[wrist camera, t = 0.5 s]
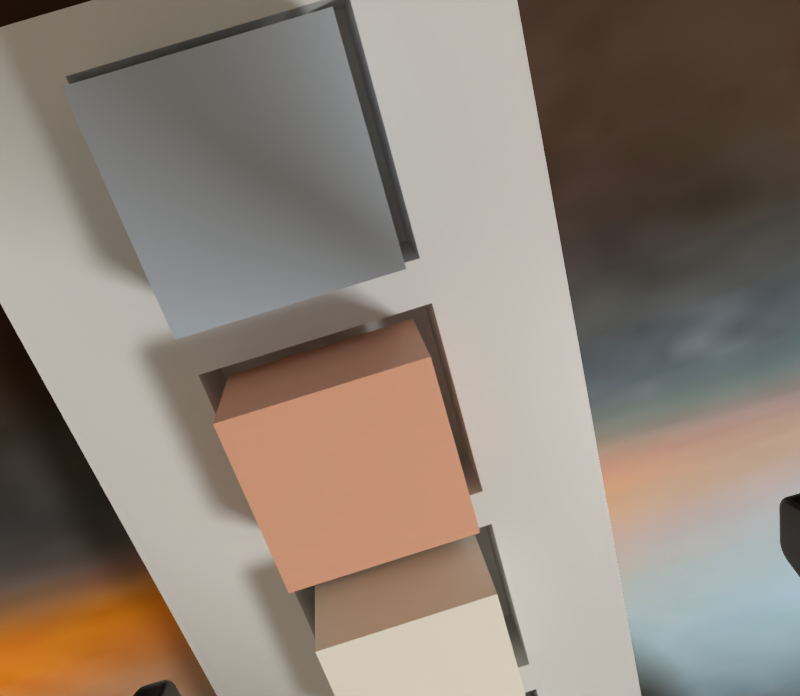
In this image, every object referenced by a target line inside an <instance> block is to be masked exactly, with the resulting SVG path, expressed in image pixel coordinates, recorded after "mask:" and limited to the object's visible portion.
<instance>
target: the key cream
mask: <svg viewBox="0 0 800 696" xmlns="http://www.w3.org/2000/svg"><path fill="white" fill-rule="evenodd" d="M315 653H316V655H317V657H318V659H319V662H320V664H321V666H322V668H323V671H324V673H325V675H326V677H327V679H328V682H329V684H330V686H331V688H332V691H333V693H334V695H335V696H526V694H525V691H524V687H523V684H522V680H521V676H520V673H519V669H518V666H517V662H516V659H515V655H514V651H513V648H512V644H511V641H510V637H509V634H508V630H507V626H506V623H505V619H504V616H503V612H502V609H501V605H500V602H499V598H498V594H497V592H496V589H495V586H494V584H493V581H492V579H491V576H490V573H489V571H488V568H487V565H486V563H485V560H484V558H483V555H482V552H481V550H480V547H479V544H478V542H477V539H476V537H475V535H472V536H469V537H466V538H462V539H459V540H456V541H453V542H450V543H447V544H443V545H440V546H437V547H434V548H431V549H428V550H425V551H421V552H418V553H415V554H412V555H409V556H406V557H402V558H399V559H396V560H393V561H390V562H387V563H383V564H380V565H377V566H374V567H371V568H368V569H364V570H361V571H358V572H355V573H352V574H349V575H345V576H342V577H339V578H336V579H333V580H330V581H326V582H323V583H320V584H317V585H315Z"/></svg>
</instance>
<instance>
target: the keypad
mask: <svg viewBox="0 0 800 696" xmlns="http://www.w3.org/2000/svg"><path fill="white" fill-rule="evenodd" d="M329 7H333V10H334V13H335V17H336V20H337V24H338V27H339V31H340V35H341V38H342V42H343V45H344V49H345V52H346V56H347V60H348V63H349V67H350V70H351V74H352V77H353V81H354V85H355V88H356V92H357V95H358V99H359V102H360V106H361V109H362V113H363V117H364V120H365V124H366V127H367V131H368V134H369V138H370V142H371V145H372V149H373V152H374V156H375V159H376V163H377V167H378V170H379V174H380V177H381V181H382V184H383V188H384V191H385V195H386V199H387V202H388V206H389V209H390V213H391V216H392V220H393V224H394V227H395V231H396V234H397V238H398V241H399V245H400V249H401V252H402V256H403V259H404V263H405V266H406V269H405V270H401V271H398V272H395V273H392V274H388V275H385V276H382V277H378V278H375V279H372V280H369V281H365V282H362V283H359V284H356V285H352V286H349V287H346V288H343V289H339V290H336V291H333V292H329V293H326V294H323V295H320V296H316V297H313V298H310V299H307V300H303V301H300V302H297V303H294V304H290V305H287V306H284V307H280V308H277V309H274V310H271V311H267V312H264V313H261V314H258V315H254V316H251V317H248V318H245V319H241V320H238V321H235V322H231V323H228V324H225V325H222V326H218V327H215V328H212V329H209V330H205V331H202V332H199V333H196V334H192V335H189V336H186V337H182V338H179V339H176V340H175V339H174V336H173V334H172V332H171V330H170V327H169V325H168V323H167V321H166V319H165V316H164V314H163V312H162V310H161V307H160V305H159V303H158V301H157V299H156V296H155V294H154V292H153V290H152V287H151V285H150V283H149V281H148V278H147V276H146V274H145V272H144V270H143V267H142V265H141V263H140V261H139V258H138V256H137V254H136V252H135V250H134V247H133V245H132V243H131V241H130V238H129V236H128V234H127V232H126V229H125V227H124V225H123V223H122V221H121V218H120V216H119V214H118V212H117V209H116V207H115V205H114V203H113V201H112V198H111V196H110V194H109V192H108V189H107V187H106V185H105V183H104V180H103V178H102V176H101V174H100V172H99V169H98V167H97V165H96V163H95V160H94V158H93V156H92V154H91V152H90V149H89V147H88V145H87V143H86V140H85V138H84V136H83V134H82V131H81V129H80V127H79V125H78V123H77V120H76V118H75V116H74V114H73V111H72V109H71V107H70V105H69V103H68V100H67V98H66V96H65V94H64V91H63V89H62V86H66V85H69V84H73V83H76V82H79V81H83V80H86V79H89V78H93V77H96V76H100V75H103V74H106V73H110V72H113V71H116V70H120V69H123V68H127V67H130V66H133V65H137V64H140V63H143V62H147V61H150V60H154V59H157V58H160V57H164V56H167V55H170V54H174V53H177V52H181V51H184V50H187V49H191V48H194V47H197V46H201V45H204V44H208V43H211V42H214V41H218V40H221V39H224V38H228V37H231V36H235V35H238V34H241V33H245V32H248V31H252V30H255V29H258V28H262V27H265V26H268V25H272V24H275V23H279V22H282V21H285V20H289V19H292V18H295V17H299V16H302V15H306V14H309V13H312V12H316V11H319V10H322V9H326V8H329ZM0 304H1V306H2V307H3V309H4V311H5V313H6V315H7V317H8V318H9V320H10V322H11V324H12V326H13V327H14V329H15V331H16V333H17V335H18V336H19V338H20V340H21V342H22V344H23V345H24V347H25V349H26V351H27V353H28V355H29V356H30V358H31V360H32V362H33V364H34V365H35V367H36V369H37V371H38V373H39V374H40V376H41V378H42V380H43V382H44V383H45V385H46V387H47V389H48V391H49V392H50V394H51V396H52V398H53V400H54V402H55V403H56V405H57V407H58V409H59V411H60V412H61V414H62V416H63V418H64V420H65V421H66V423H67V425H68V427H69V429H70V430H71V432H72V434H73V436H74V438H75V440H76V441H77V443H78V445H79V447H80V449H81V450H82V452H83V454H84V456H85V458H86V459H87V461H88V463H89V465H90V467H91V468H92V470H93V472H94V474H95V476H96V478H97V479H98V481H99V483H100V485H101V487H102V488H103V490H104V492H105V494H106V496H107V497H108V499H109V501H110V503H111V505H112V506H113V508H114V510H115V512H116V514H117V516H118V517H119V519H120V521H121V523H122V525H123V526H124V528H125V530H126V532H127V534H128V535H129V537H130V539H131V541H132V543H133V544H134V546H135V548H136V550H137V552H138V554H139V555H140V557H141V559H142V561H143V563H144V564H145V566H146V568H147V570H148V572H149V573H150V575H151V577H152V579H153V581H154V582H155V584H156V586H157V588H158V590H159V592H160V593H161V595H162V597H163V599H164V601H165V602H166V604H167V606H168V608H169V610H170V611H171V613H172V615H173V617H174V619H175V620H176V622H177V624H178V626H179V628H180V630H181V631H182V633H183V635H184V637H185V639H186V640H187V642H188V644H189V646H190V648H191V649H192V651H193V653H194V655H195V657H196V658H197V660H198V662H199V664H200V666H201V668H202V669H203V671H204V673H205V675H206V677H207V678H208V680H209V682H210V684H211V686H212V687H213V689H214V691H215V693H216V695H217V696H335V695H334V693H333V691H332V688H331V686H330V684H329V682H328V679H327V677H326V675H325V673H324V671H323V668H322V666H321V664H320V662H319V659H318V657H317V655H316V653H315V585H314V586H311V587H307V588H304V589H301V590H298V591H295V592H292V593H288V590H287V588H286V586H285V584H284V581H283V579H282V577H281V575H280V573H279V570H278V568H277V566H276V564H275V561H274V559H273V557H272V555H271V552H270V550H269V548H268V546H267V544H266V541H265V539H264V537H263V535H262V532H261V530H260V528H259V526H258V524H257V521H256V519H255V517H254V515H253V512H252V510H251V508H250V506H249V503H248V501H247V499H246V497H245V495H244V492H243V490H242V488H241V486H240V483H239V481H238V479H237V477H236V475H235V472H234V470H233V468H232V466H231V463H230V461H229V459H228V457H227V454H226V452H225V450H224V448H223V446H222V443H221V441H220V439H219V437H218V434H217V432H216V430H215V428H214V426H213V422H214V419H215V416H216V413H217V410H218V406H219V403H220V400H221V397H222V394H223V391H224V388H225V385H226V382H227V378H228V375H231V374H235V373H238V372H241V371H244V370H247V369H251V368H254V367H257V366H260V365H264V364H267V363H270V362H273V361H277V360H280V359H283V358H286V357H290V356H293V355H296V354H299V353H303V352H306V351H309V350H312V349H316V348H319V347H322V346H325V345H329V344H332V343H335V342H338V341H342V340H345V339H348V338H351V337H355V336H358V335H361V334H364V333H368V332H371V331H374V330H377V329H381V328H384V327H387V326H390V325H394V324H397V323H400V322H403V321H407V320H410V319H413V320H414V323H415V325H416V327H417V329H418V331H419V333H420V335H421V337H422V339H423V341H424V343H425V346H426V348H427V350H428V352H429V354H430V356H431V359H432V363H433V366H434V370H435V373H436V377H437V380H438V384H439V388H440V391H441V395H442V398H443V402H444V405H445V409H446V413H447V416H448V420H449V423H450V427H451V430H452V434H453V438H454V441H455V445H456V448H457V452H458V455H459V459H460V462H461V466H462V470H463V473H464V477H465V480H466V484H467V487H468V491H469V495H470V498H471V502H472V505H473V509H474V512H475V516H476V520H477V523H478V527H479V530H480V533H478V534H475V537H476V539H477V542H478V544H479V547H480V550H481V552H482V555H483V558H484V560H485V563H486V565H487V568H488V571H489V573H490V576H491V579H492V581H493V584H494V586H495V589H496V592H497V594H498V598H499V602H500V605H501V609H502V612H503V616H504V619H505V623H506V626H507V630H508V634H509V637H510V641H511V644H512V648H513V651H514V655H515V659H516V662H517V666H518V669H519V673H520V676H521V680H522V684H523V687H524V691H525V694H526V696H641V691H640V685H639V680H638V674H637V668H636V663H635V657H634V652H633V646H632V641H631V635H630V629H629V624H628V618H627V613H626V607H625V601H624V596H623V590H622V585H621V579H620V573H619V568H618V562H617V557H616V551H615V545H614V540H613V534H612V529H611V523H610V517H609V512H608V506H607V501H606V495H605V489H604V484H603V478H602V473H601V467H600V461H599V456H598V450H597V445H596V439H595V434H594V428H593V422H592V417H591V411H590V406H589V400H588V394H587V389H586V383H585V378H584V372H583V366H582V361H581V355H580V350H579V344H578V338H577V333H576V327H575V322H574V316H573V310H572V305H571V299H570V294H569V288H568V282H567V277H566V271H565V266H564V260H563V254H562V249H561V243H560V238H559V232H558V227H557V221H556V215H555V210H554V204H553V199H552V193H551V187H550V182H549V176H548V171H547V165H546V159H545V154H544V148H543V143H542V137H541V131H540V126H539V120H538V115H537V109H536V103H535V98H534V92H533V87H532V81H531V75H530V70H529V64H528V59H527V53H526V47H525V42H524V36H523V31H522V25H521V19H520V14H519V8H518V3H517V0H91V1H88V2H84V3H81V4H78V5H74V6H71V7H67V8H64V9H61V10H57V11H54V12H50V13H47V14H44V15H40V16H37V17H33V18H30V19H27V20H23V21H20V22H16V23H13V24H10V25H6V26H3V27H0Z"/></svg>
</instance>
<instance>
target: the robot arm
mask: <svg viewBox="0 0 800 696" xmlns="http://www.w3.org/2000/svg"><path fill="white" fill-rule="evenodd" d="M780 544H781V548H782V551H783V553H784V555H785V557H786V559H787V560H788V562H789V563H790V564H791V566H792V567H793V568H794V570H795V571H796V572H797V574H798V575H799V577H800V493H799V494H796V495H793V496H789V497H786V498H784V499H783V500H782V501H781V503H780ZM133 696H181V695H180V693H179V691H178V690H177V688H176V686H175V685H174V683H173V682H172V681H170V680H163V681H159V682H156V683H153V684H149V685H146V686H143V687H141V688H140V689H139V690H138V691H137V692H136V693H135V694H134V695H133Z"/></svg>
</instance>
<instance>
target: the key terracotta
mask: <svg viewBox="0 0 800 696" xmlns="http://www.w3.org/2000/svg"><path fill="white" fill-rule="evenodd" d="M213 426H214V428H215V430H216V432H217V434H218V437H219V439H220V441H221V443H222V446H223V448H224V450H225V452H226V454H227V457H228V459H229V461H230V463H231V466H232V468H233V470H234V472H235V475H236V477H237V479H238V481H239V483H240V486H241V488H242V490H243V492H244V495H245V497H246V499H247V501H248V503H249V506H250V508H251V510H252V512H253V515H254V517H255V519H256V521H257V524H258V526H259V528H260V530H261V532H262V535H263V537H264V539H265V541H266V544H267V546H268V548H269V550H270V552H271V555H272V557H273V559H274V561H275V564H276V566H277V568H278V570H279V573H280V575H281V577H282V579H283V581H284V584H285V586H286V588H287V590H288V593H292V592H295V591H298V590H301V589H304V588H307V587H311V586H314V585H317V584H320V583H323V582H326V581H330V580H333V579H336V578H339V577H342V576H345V575H349V574H352V573H355V572H358V571H361V570H364V569H368V568H371V567H374V566H377V565H380V564H383V563H387V562H390V561H393V560H396V559H399V558H402V557H406V556H409V555H412V554H415V553H418V552H421V551H425V550H428V549H431V548H434V547H437V546H440V545H443V544H447V543H450V542H453V541H456V540H459V539H462V538H466V537H469V536H472V535H475V534H478V533H480V530H479V527H478V523H477V520H476V516H475V512H474V509H473V505H472V502H471V498H470V495H469V491H468V487H467V484H466V480H465V477H464V473H463V470H462V466H461V462H460V459H459V455H458V452H457V448H456V445H455V441H454V438H453V434H452V430H451V427H450V423H449V420H448V416H447V413H446V409H445V405H444V402H443V398H442V395H441V391H440V388H439V384H438V380H437V377H436V373H435V370H434V366H433V363H432V359H431V356H430V354H429V352H428V350H427V348H426V346H425V343H424V341H423V339H422V337H421V335H420V333H419V331H418V329H417V327H416V325H415V323H414V320H413V319H410V320H407V321H403V322H400V323H397V324H394V325H390V326H387V327H384V328H381V329H377V330H374V331H371V332H368V333H364V334H361V335H358V336H355V337H351V338H348V339H345V340H342V341H338V342H335V343H332V344H329V345H325V346H322V347H319V348H316V349H312V350H309V351H306V352H303V353H299V354H296V355H293V356H290V357H286V358H283V359H280V360H277V361H273V362H270V363H267V364H264V365H260V366H257V367H254V368H251V369H247V370H244V371H241V372H238V373H235V374H231V375H228V378H227V382H226V385H225V388H224V391H223V394H222V397H221V400H220V403H219V406H218V410H217V413H216V416H215V419H214V422H213Z"/></svg>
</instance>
